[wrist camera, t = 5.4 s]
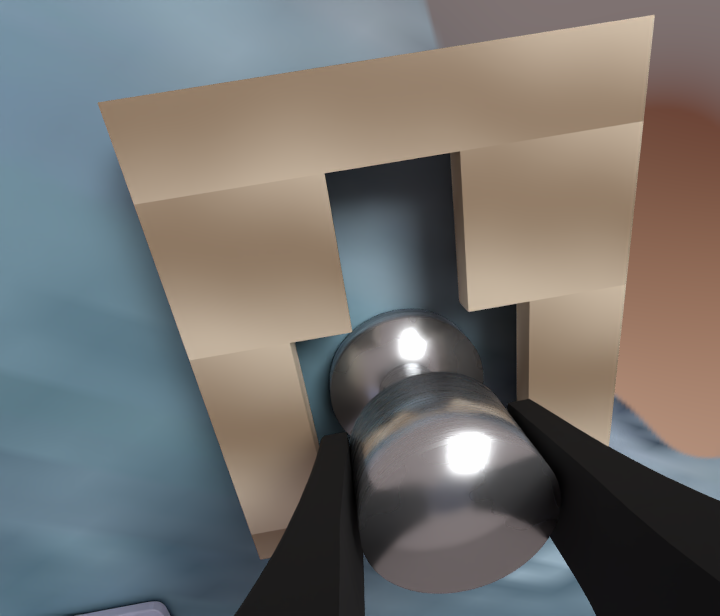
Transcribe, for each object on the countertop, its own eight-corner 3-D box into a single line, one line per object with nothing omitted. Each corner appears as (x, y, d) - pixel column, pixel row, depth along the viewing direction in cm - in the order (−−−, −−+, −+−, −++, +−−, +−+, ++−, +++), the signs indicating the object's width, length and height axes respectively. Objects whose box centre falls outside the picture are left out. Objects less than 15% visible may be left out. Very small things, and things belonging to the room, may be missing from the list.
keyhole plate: (564, 448, 16) (603, 495, 14) (269, 502, 16) (260, 559, 14) (586, 43, 11) (654, 15, 9) (145, 112, 11) (97, 102, 8)
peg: (479, 421, 15) (575, 575, 10) (344, 450, 15) (363, 625, 9) (469, 294, 13) (583, 397, 8) (315, 326, 13) (317, 455, 7)
